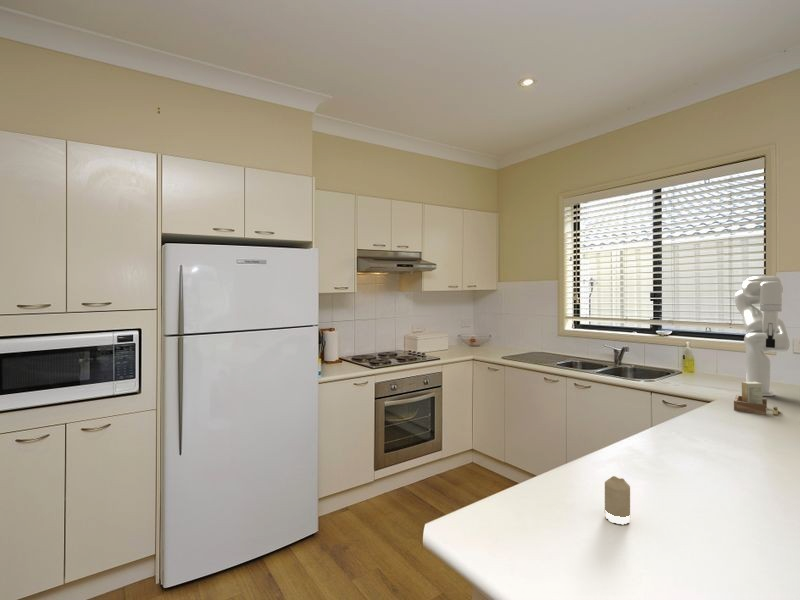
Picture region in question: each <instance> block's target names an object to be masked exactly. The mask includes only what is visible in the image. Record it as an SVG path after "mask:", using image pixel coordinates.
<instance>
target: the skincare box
mask: <svg viewBox="0 0 800 600" xmlns="http://www.w3.org/2000/svg"><path fill="white" fill-rule="evenodd" d="M741 396H742V402H749V403H757V404H763V403H762V399H763V396H762V383H758V382H746V381H741Z"/></svg>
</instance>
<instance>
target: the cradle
mask: <svg viewBox="0 0 800 600" xmlns="http://www.w3.org/2000/svg"><path fill="white" fill-rule="evenodd" d="M762 403H763V404H757V403H749V402H742V395H735V397H734V399H733V410H734V411H739V412H746V413H754V414H755V413H756V414H759V415H760V414H762V415H767V408H768V404H767V403H768V401H767V398H762Z"/></svg>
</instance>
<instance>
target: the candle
mask: <svg viewBox="0 0 800 600" xmlns="http://www.w3.org/2000/svg"><path fill="white" fill-rule="evenodd" d="M605 510H606V511H607V512H608V513H610V514H612V515H614V516H620V517H626V516H629V515H630V516H631V485H630V484H628V483H627V481H626V480H625V478H622V477H621V478H619V477H617V476H616V475H613V476H611V477H609V478H608V479H606V480H605V481H604V511H605Z"/></svg>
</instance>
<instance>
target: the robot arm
mask: <svg viewBox="0 0 800 600" xmlns="http://www.w3.org/2000/svg"><path fill="white" fill-rule="evenodd" d="M782 297H783V285H782V282H781V278H779V277H778V276H775V275H758V276H757V275H755V276H751V277H749V278H747V279H746V280H744V281H743V282H742V285H741V289H740V290H738V291H737V292H735V294H734V303H735V304H734V305H735V306H736V309H737V311H738V312H739V313H740V314H741V316H742V320H743V325H744V329H745V332H746V333H747V334H745V335H744V338H743V343H744V348H745V357H746V360H745V364H746V365H745V372H746V373H745V382H758V383H762V397H773V396H775V392H774V391H771V359H770V358H769V357H768V355H766V354H765V352H772V353H783V352H787V351H789V349H790V340H789V336H788V332H787V328H786V325H785V323H784V321H783V320H782V319H781V318H779V312H780V313H781V312H782V309H783V308H782V307H783V306H782V304H783V303H782V299H783V298H782ZM755 305H757V306H758V305H759V306H760V307H759V308H757V307H756V306H755Z"/></svg>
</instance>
